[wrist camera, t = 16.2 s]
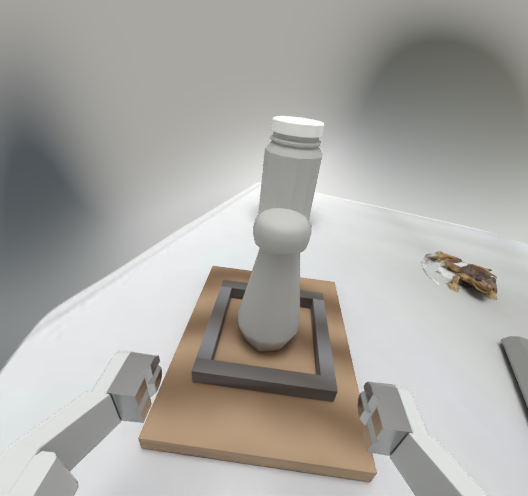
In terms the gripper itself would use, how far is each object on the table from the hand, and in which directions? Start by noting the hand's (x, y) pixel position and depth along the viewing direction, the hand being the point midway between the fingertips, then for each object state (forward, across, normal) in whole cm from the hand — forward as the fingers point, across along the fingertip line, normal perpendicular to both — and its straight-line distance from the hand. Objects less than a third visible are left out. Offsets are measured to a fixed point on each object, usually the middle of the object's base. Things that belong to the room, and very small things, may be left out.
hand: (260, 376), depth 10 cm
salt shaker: (+11, 0, -12) cm, 16 cm away
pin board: (+11, +1, -13) cm, 17 cm away
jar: (+40, +2, -13) cm, 43 cm away
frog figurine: (+28, +30, -14) cm, 44 cm away
